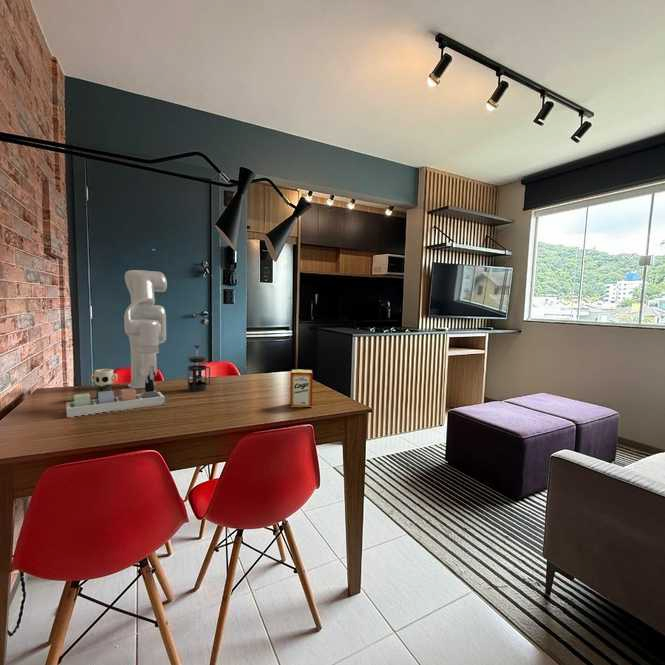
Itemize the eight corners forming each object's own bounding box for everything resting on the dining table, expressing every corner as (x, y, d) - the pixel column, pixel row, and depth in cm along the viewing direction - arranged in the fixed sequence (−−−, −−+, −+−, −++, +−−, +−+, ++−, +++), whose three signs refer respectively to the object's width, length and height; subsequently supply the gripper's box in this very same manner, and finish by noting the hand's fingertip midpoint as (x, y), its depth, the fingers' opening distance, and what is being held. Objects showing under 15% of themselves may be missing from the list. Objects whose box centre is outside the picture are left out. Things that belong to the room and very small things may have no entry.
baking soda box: (311, 403, 161) (312, 369, 160) (311, 408, 154) (312, 371, 153) (290, 403, 160) (291, 369, 159) (290, 408, 153) (290, 371, 152)
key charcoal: (142, 399, 154) (142, 390, 154) (154, 398, 157) (154, 389, 157) (144, 402, 150) (144, 393, 150) (157, 400, 153) (157, 391, 153)
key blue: (98, 401, 144) (98, 391, 144) (112, 399, 147) (112, 390, 147) (99, 404, 140) (99, 394, 140) (114, 402, 143) (113, 392, 143)
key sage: (74, 404, 139) (73, 394, 139) (89, 402, 142) (89, 392, 142) (74, 407, 135) (74, 397, 135) (90, 405, 139) (90, 395, 138)
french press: (183, 391, 175) (183, 346, 173) (189, 387, 184) (189, 343, 183) (207, 392, 176) (207, 346, 174) (212, 387, 185) (212, 344, 184)
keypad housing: (66, 411, 140) (66, 402, 140) (159, 399, 161) (159, 391, 161) (66, 418, 132) (66, 408, 132) (164, 404, 153) (164, 396, 153)
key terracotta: (120, 398, 149) (120, 389, 149) (134, 397, 152) (134, 388, 152) (122, 401, 145) (122, 392, 145) (136, 399, 148) (136, 390, 148)
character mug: (87, 400, 155) (86, 371, 154) (95, 396, 162) (94, 368, 161) (114, 400, 157) (113, 371, 156) (120, 396, 164) (120, 368, 163)
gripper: (136, 348, 156) (136, 389, 157) (142, 352, 144) (143, 396, 145) (154, 347, 160) (155, 387, 161) (162, 351, 148) (162, 393, 150)
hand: (149, 391), depth 153 cm, fingers closed
